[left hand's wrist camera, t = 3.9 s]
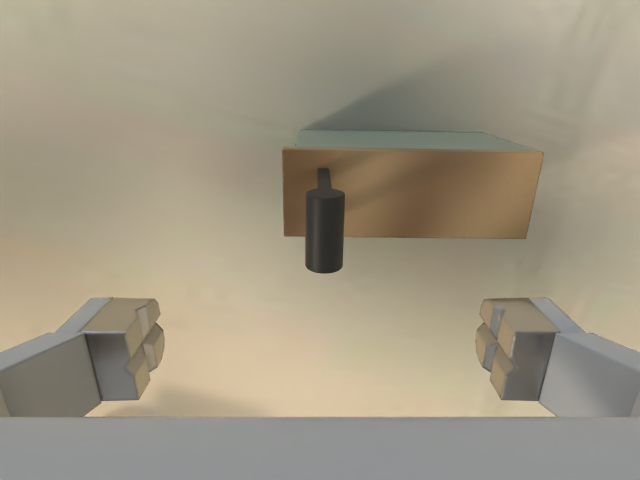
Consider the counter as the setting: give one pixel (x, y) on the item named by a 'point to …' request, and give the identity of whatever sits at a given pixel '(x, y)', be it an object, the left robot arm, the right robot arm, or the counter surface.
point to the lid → (404, 195)
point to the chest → (403, 140)
